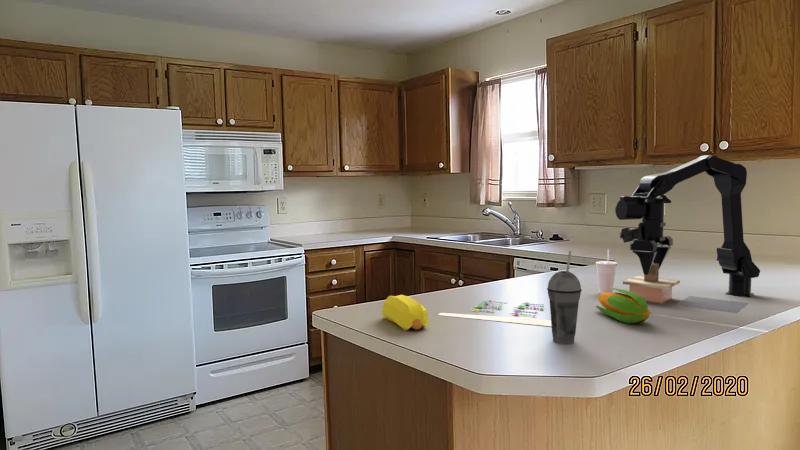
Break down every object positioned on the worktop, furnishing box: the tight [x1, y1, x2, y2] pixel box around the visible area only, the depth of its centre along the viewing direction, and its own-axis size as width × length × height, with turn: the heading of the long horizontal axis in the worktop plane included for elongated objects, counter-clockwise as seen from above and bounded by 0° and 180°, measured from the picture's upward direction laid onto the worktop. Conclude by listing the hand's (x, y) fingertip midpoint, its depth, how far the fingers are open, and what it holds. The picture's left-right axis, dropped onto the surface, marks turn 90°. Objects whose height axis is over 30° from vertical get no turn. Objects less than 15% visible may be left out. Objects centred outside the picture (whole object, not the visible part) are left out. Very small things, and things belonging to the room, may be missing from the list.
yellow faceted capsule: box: [381, 294, 429, 331], centre depth 135 cm, size 18×7×8 cm
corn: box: [595, 287, 651, 325], centre depth 138 cm, size 7×8×20 cm
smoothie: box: [595, 248, 618, 294], centre depth 168 cm, size 6×6×14 cm
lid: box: [622, 263, 681, 289], centre depth 157 cm, size 12×12×6 cm
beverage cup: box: [546, 250, 583, 345], centre depth 118 cm, size 7×7×20 cm
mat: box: [674, 295, 749, 314], centre depth 150 cm, size 15×15×1 cm
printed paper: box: [437, 299, 552, 327], centre depth 150 cm, size 30×30×2 cm
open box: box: [628, 285, 673, 305], centre depth 157 cm, size 9×9×5 cm
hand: (651, 272), depth 157 cm, fingers open, 9 cm apart
